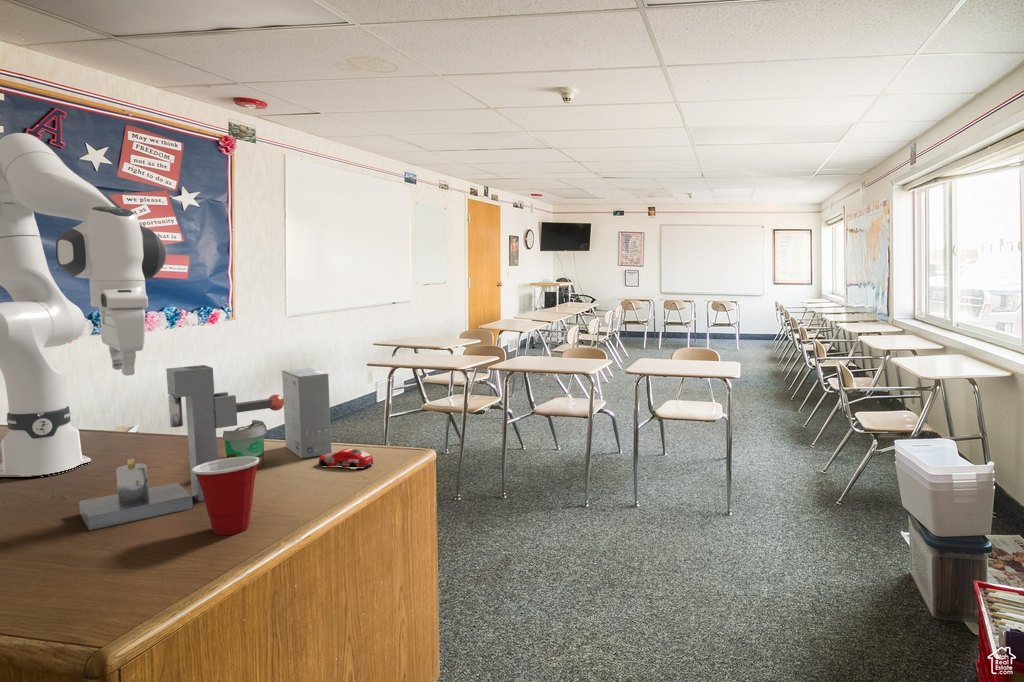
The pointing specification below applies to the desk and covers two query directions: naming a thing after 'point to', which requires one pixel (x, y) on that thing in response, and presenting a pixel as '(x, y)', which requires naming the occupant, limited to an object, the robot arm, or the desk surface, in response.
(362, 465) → the race car
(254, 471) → the plastic cup
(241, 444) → the food container
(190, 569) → the desk surface
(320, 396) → the hard drive box
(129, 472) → the cylinder
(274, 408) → the lever
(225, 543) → the desk surface
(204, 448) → the press
